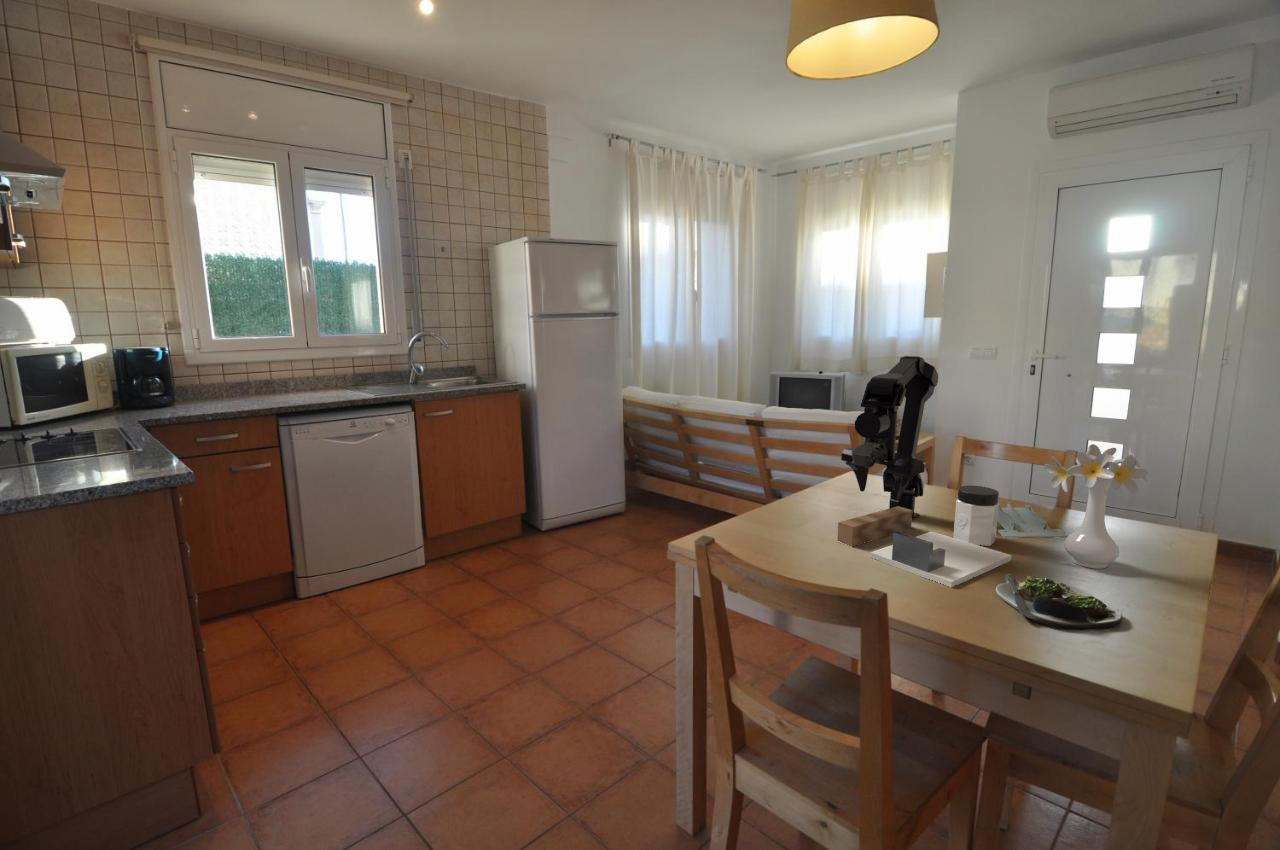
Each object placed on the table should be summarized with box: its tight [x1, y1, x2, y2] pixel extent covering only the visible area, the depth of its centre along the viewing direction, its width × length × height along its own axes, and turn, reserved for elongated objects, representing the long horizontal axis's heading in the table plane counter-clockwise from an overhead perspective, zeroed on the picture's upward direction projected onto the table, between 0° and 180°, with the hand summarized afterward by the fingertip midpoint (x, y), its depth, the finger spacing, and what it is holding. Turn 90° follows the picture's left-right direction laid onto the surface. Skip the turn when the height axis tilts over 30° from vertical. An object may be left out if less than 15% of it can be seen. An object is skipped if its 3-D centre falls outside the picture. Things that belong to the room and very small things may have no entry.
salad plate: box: [995, 573, 1123, 631], centre depth 109 cm, size 19×18×5 cm
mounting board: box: [869, 530, 1012, 588], centre depth 130 cm, size 23×18×1 cm
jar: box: [952, 485, 1000, 547], centre depth 140 cm, size 9×8×12 cm
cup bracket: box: [892, 531, 945, 573], centre depth 125 cm, size 6×8×6 cm
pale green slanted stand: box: [997, 502, 1069, 539], centre depth 148 cm, size 14×6×15 cm
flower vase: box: [1043, 443, 1149, 570], centre depth 124 cm, size 13×18×25 cm
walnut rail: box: [837, 506, 913, 547], centre depth 144 cm, size 22×4×5 cm, turn 122°
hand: (879, 495), depth 144 cm, fingers open, 9 cm apart
